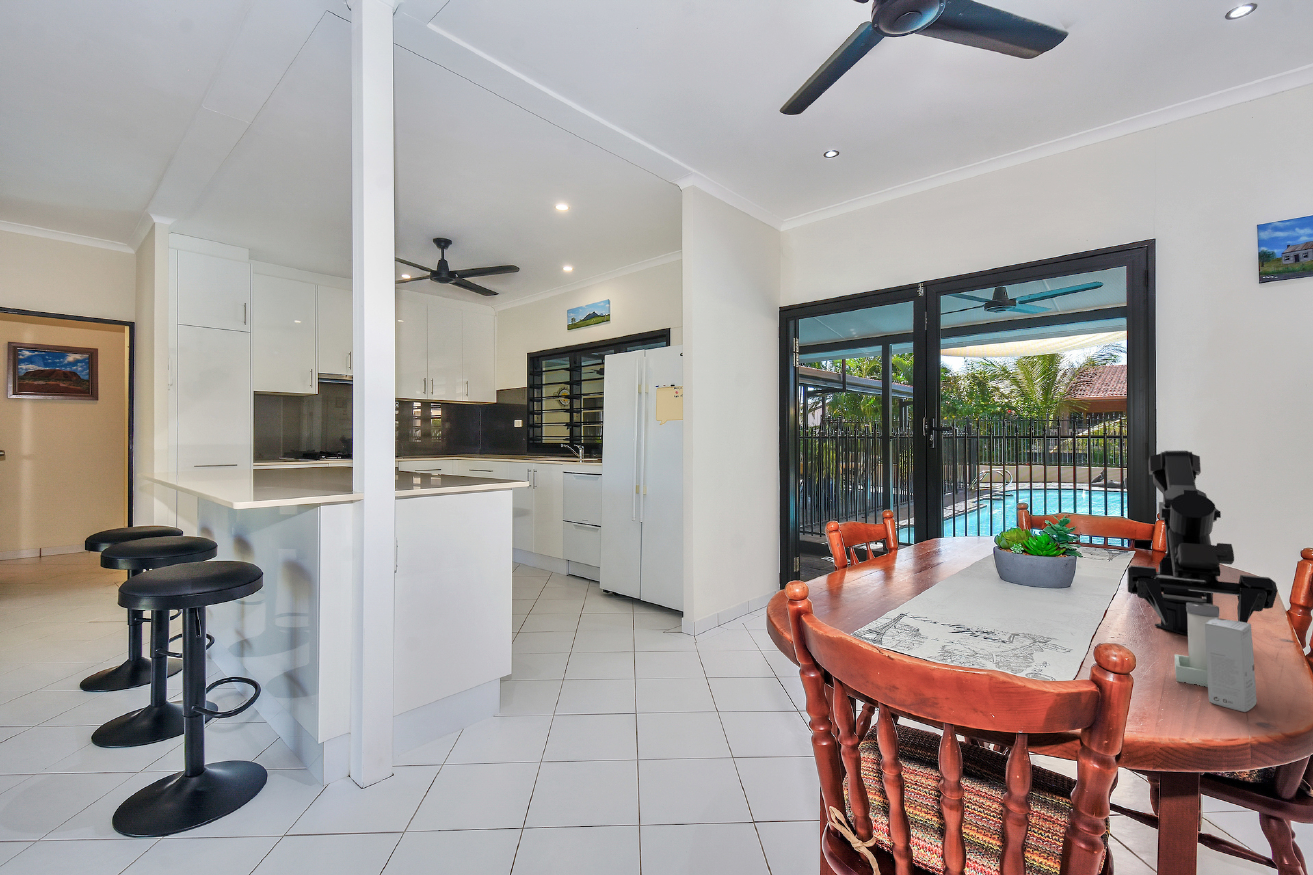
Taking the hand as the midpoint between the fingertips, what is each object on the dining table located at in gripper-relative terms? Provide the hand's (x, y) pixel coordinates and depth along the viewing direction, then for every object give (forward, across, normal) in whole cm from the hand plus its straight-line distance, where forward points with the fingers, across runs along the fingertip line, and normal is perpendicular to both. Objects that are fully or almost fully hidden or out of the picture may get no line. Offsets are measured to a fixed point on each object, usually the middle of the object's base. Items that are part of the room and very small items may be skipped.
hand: (1203, 628), depth 94 cm
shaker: (+6, 0, +6) cm, 8 cm away
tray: (+6, 0, +6) cm, 9 cm away
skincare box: (+12, +2, 0) cm, 13 cm away
